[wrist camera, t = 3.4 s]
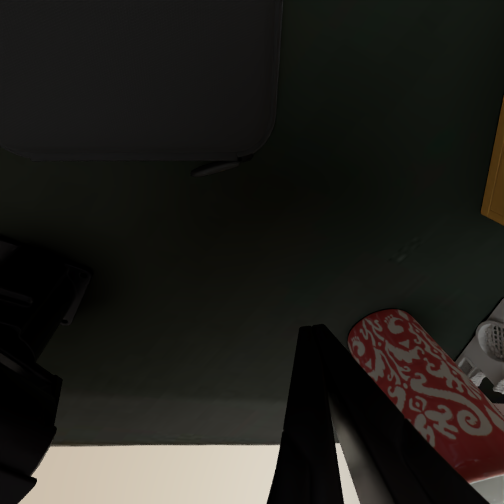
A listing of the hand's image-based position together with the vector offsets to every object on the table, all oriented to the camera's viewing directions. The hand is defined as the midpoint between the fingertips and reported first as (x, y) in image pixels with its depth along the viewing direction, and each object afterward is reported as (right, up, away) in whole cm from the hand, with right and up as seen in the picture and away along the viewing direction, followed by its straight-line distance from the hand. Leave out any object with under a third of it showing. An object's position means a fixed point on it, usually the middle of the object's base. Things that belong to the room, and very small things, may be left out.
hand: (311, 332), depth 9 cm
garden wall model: (+24, -7, +22) cm, 33 cm away
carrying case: (-8, +12, +5) cm, 16 cm away
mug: (+11, -7, +20) cm, 24 cm away
